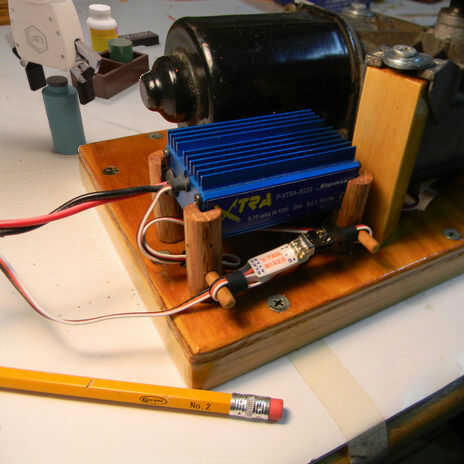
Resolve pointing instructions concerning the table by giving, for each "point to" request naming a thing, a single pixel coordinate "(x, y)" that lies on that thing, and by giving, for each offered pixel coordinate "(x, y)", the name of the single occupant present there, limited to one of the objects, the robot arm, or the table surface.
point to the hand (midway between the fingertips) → (63, 95)
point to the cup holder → (116, 74)
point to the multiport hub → (142, 38)
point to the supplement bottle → (100, 27)
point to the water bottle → (63, 115)
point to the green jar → (120, 50)
